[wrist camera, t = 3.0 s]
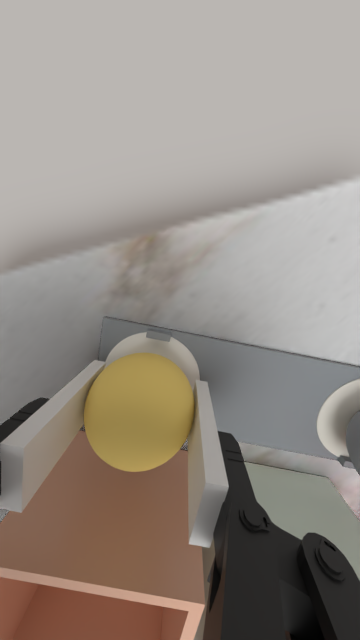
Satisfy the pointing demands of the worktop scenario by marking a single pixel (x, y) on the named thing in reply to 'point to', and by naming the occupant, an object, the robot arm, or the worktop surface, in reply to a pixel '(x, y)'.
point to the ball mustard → (139, 412)
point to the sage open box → (298, 514)
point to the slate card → (254, 387)
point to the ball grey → (354, 440)
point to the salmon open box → (102, 554)
